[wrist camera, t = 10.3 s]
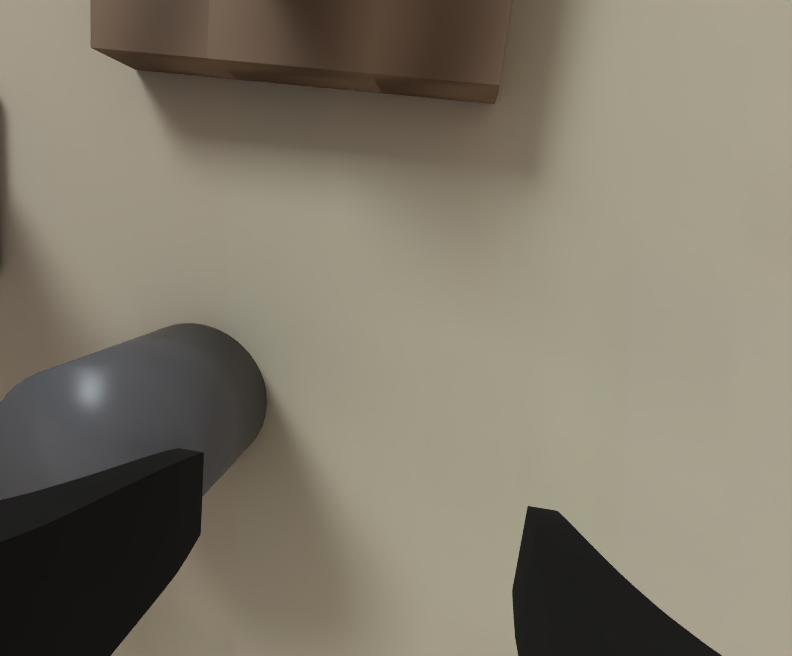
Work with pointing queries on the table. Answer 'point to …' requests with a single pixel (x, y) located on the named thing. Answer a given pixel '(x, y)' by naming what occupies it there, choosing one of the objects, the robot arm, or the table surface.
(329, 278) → the table surface
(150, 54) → the socket block
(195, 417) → the round peg
